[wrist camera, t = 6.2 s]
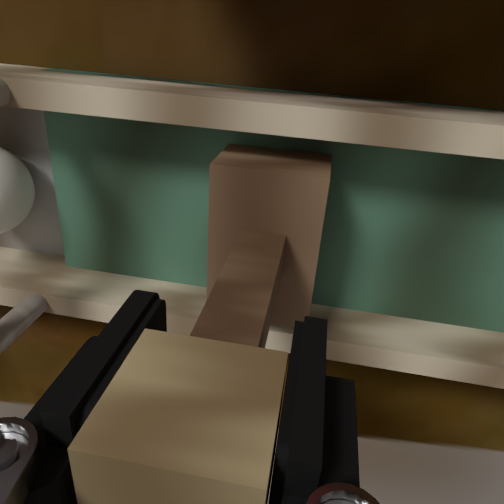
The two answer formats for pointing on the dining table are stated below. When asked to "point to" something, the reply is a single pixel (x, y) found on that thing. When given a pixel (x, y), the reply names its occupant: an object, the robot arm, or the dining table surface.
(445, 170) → the pitch
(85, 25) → the dining table surface
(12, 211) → the ball
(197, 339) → the striker
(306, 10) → the dining table surface
